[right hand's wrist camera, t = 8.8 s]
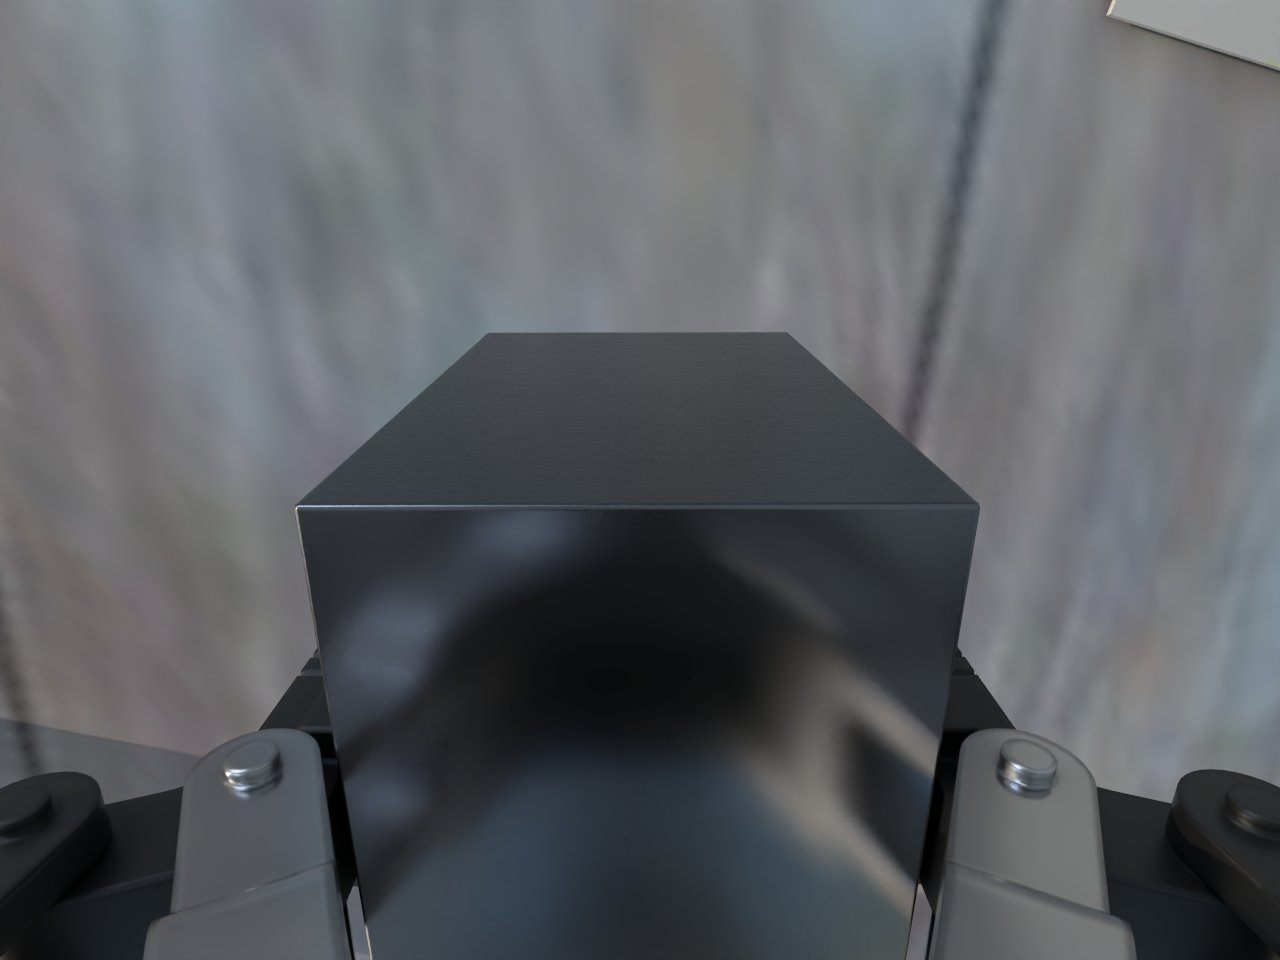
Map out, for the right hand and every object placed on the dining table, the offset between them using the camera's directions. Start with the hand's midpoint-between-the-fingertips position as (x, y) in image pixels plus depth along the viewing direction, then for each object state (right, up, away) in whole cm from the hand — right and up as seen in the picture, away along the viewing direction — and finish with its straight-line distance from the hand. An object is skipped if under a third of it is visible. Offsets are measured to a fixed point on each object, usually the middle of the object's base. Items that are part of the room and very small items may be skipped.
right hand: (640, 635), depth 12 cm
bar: (0, -6, +7) cm, 10 cm away
